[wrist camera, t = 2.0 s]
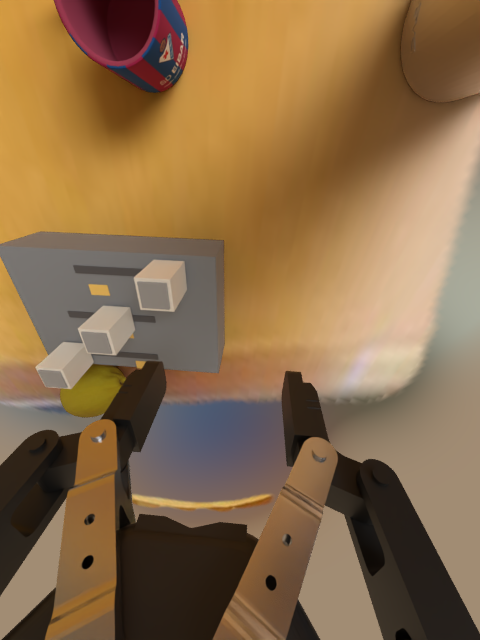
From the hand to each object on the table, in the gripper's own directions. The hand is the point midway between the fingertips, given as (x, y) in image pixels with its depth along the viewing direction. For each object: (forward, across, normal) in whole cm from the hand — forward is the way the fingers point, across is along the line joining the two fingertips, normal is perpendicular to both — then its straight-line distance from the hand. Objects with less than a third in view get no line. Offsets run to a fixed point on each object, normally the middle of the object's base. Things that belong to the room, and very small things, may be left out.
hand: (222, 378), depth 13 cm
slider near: (+14, +7, 0) cm, 15 cm away
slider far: (+14, +20, +11) cm, 27 cm away
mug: (+20, +10, -19) cm, 29 cm away
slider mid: (+14, +13, +6) cm, 20 cm away
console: (+20, +13, +6) cm, 24 cm away
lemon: (+20, +22, +20) cm, 36 cm away
